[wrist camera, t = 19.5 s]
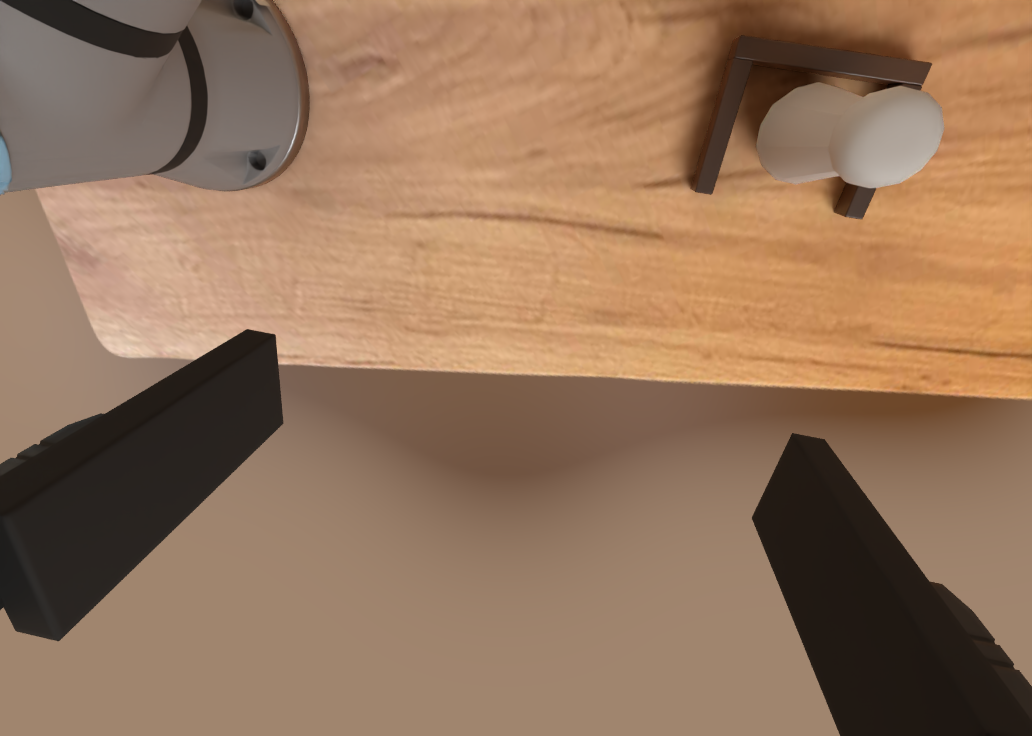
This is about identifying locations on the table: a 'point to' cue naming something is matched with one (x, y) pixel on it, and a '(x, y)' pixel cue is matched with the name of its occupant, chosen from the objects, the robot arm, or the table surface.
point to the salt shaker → (849, 135)
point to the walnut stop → (802, 60)
